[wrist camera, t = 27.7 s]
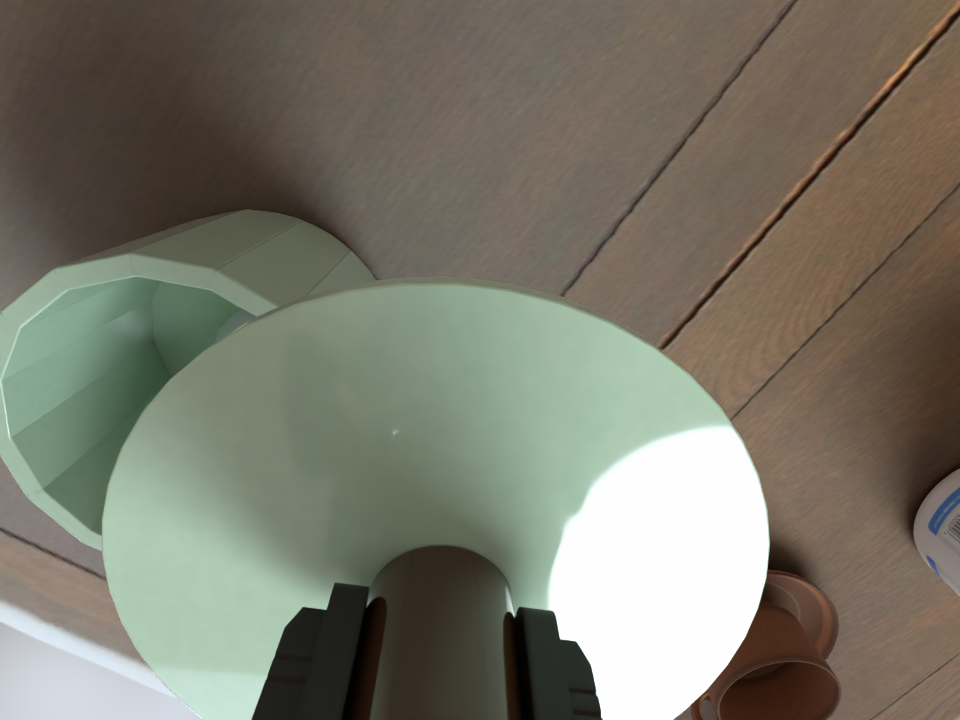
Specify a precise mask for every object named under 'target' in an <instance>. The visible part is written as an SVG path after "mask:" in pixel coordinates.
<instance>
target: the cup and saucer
mask: <svg viewBox="0 0 960 720" xmlns="http://www.w3.org/2000/svg"><path fill="white" fill-rule="evenodd" d="M838 628H839V623H838V616H837V612H836V610H835V607H834V605H833V604H832V602H831V600H830V599H829V598H828V597H827V596H826V595H825V594H824V593H823V592H822V591H821V590H820V589H819V588H818V587H817V586H815V585H814V584H813V583H811V582H809V581H808V580H806V579H804V578H802V577H800V576H797V575H794V574H792V573H788V572H784V571H778V570H768V569H767V578H766V581H765V585H764V589H763V592H762V596H761V600H760V604H759V607H758V610H757V612H756V614H755V617H754V619H753V621H752V623H751V626H750V628H749V630H748V632H747V635H746V637H745V639H744V640H743V642H742V643H741V645H740V647H739V648H738V650H737V651H736V653H735V654H734V656H733V658H732V659H731V661H730V662H729V664H728V665H727V667H726V668H725V669H724V670H723V671H722V673H721V674H720V675H719V676H718V677H717V679H716V680H715V681H714V682H713V683H712V684H711V686H710V687H709V688H708V689H707V690H706V691H705V692H704V693H703V694H702V695H701V696H700V697H699V698H698V699H697V700H696V701H695V702H693V703H692V704H691V714H692V719H693V720H703V719H702V717H701V713H700V707H701V703H702V701H703V699H704V700H709V701H712V703H713V706H714V708H715V711H716V713H717V716H718V719H717V720H827V719H829V717H830V716H831V715H832V714H833V713H834V711H835V710H836V708H837V706H838V704H839V702H840V698H841V686H840V683H839V681H838V679H837V677H836V676H835V674H834V673H833V671H832V670H831V668H830V667H829V665H828V664H827V662H826V661H825V660H826V659H827V657H828V656H829V654H830V653H831V651H832V649H833V647H834V645H835V642H836V639H837V635H838Z"/></svg>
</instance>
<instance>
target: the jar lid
mask: <svg viewBox="0 0 960 720" xmlns="http://www.w3.org/2000/svg"><path fill="white" fill-rule="evenodd" d="M769 548H770V538H769V525H768V512H767V505H766V502H765V498H764V494H763V490H762V486H761V482H760V478H759V474H758V472H757V469H756V467H755V465H754V463H753V461H752V458H751V456H750V454H749V452H748V450H747V447H746V445H745V443H744V441H743V439H742V437H741V436H740V434H739V433H738V431H737V430H736V428H735V427H734V425H733V424H732V422H731V421H730V419H729V418H728V417H727V415H726V414H725V412H724V411H723V409H722V408H721V406H720V405H719V404H718V403H717V401H716V400H715V399H714V398H713V397H712V396H711V395H710V394H709V393H708V391H707V390H706V389H705V388H704V387H703V386H702V385H701V384H700V383H699V382H698V381H697V380H696V379H695V378H694V377H693V376H692V375H691V373H690V372H689V371H688V370H687V369H686V368H685V367H684V366H683V365H682V364H680V363H679V362H678V361H677V360H675V359H674V358H673V357H671V356H670V355H669V354H668V353H666V352H665V351H664V350H662V349H661V348H660V347H659V346H657V345H656V344H655V343H653V342H652V341H651V340H650V339H648V338H647V337H645V336H643V335H642V334H640V333H638V332H636V331H635V330H633V329H631V328H629V327H628V326H626V325H624V324H622V323H620V322H619V321H617V320H615V319H613V318H612V317H610V316H608V315H606V314H604V313H602V312H599V311H597V310H594V309H592V308H589V307H587V306H584V305H582V304H579V303H577V302H574V301H572V300H569V299H567V298H564V297H562V296H559V295H555V294H551V293H547V292H543V291H539V290H535V289H531V288H527V287H523V286H519V285H515V284H512V283H506V282H498V281H489V280H481V279H473V278H464V277H399V278H391V279H384V280H377V281H370V282H362V283H355V284H349V285H345V286H342V287H338V288H334V289H331V290H327V291H323V292H320V293H316V294H313V295H309V296H305V297H302V298H299V299H296V300H294V301H292V302H289V303H287V304H285V305H282V306H280V307H278V308H275V309H273V310H271V311H268V312H266V313H264V314H261V315H259V316H257V317H254V318H253V319H251V320H249V321H248V322H246V323H245V324H243V325H241V326H240V327H238V328H236V329H235V330H233V331H231V332H230V333H228V334H227V335H225V336H223V337H222V338H220V339H218V340H217V341H215V342H214V343H212V344H211V345H210V346H209V347H208V348H206V349H205V350H204V351H203V352H202V353H201V354H199V355H198V356H197V357H196V358H195V359H193V360H192V361H191V362H190V363H189V364H188V365H186V366H185V367H184V368H183V369H182V370H180V371H179V372H178V373H177V374H176V375H175V376H174V377H172V378H171V379H170V380H169V381H168V382H167V384H166V385H165V386H164V387H163V388H162V389H161V391H160V392H159V393H158V394H157V395H156V397H155V398H154V399H153V400H152V401H151V402H150V404H149V405H148V406H147V407H146V408H145V409H144V411H143V412H142V413H141V415H140V416H139V418H138V420H137V422H136V423H135V425H134V427H133V428H132V430H131V432H130V433H129V435H128V437H127V439H126V440H125V442H124V444H123V445H122V447H121V450H120V452H119V455H118V458H117V460H116V463H115V466H114V469H113V471H112V474H111V477H110V479H109V482H108V486H107V492H106V498H105V504H104V510H103V515H102V557H103V562H104V568H105V573H106V578H107V584H108V589H109V591H110V594H111V597H112V600H113V602H114V605H115V608H116V610H117V613H118V616H119V619H120V621H121V623H122V625H123V626H124V628H125V630H126V632H127V634H128V635H129V637H130V639H131V641H132V643H133V645H134V646H135V648H136V650H137V651H138V652H139V654H140V655H141V656H142V658H143V659H144V660H145V662H146V663H147V664H148V666H149V667H150V668H151V670H152V671H153V672H154V674H155V675H156V676H157V677H158V678H159V680H160V681H161V682H162V683H163V684H164V685H165V686H166V687H167V688H168V689H169V690H170V691H171V692H172V693H173V694H174V695H175V696H176V697H177V698H178V699H179V700H180V701H181V702H182V703H184V704H185V705H186V706H187V707H188V708H190V709H191V710H192V711H193V712H195V713H196V714H197V715H198V716H200V717H201V718H202V719H203V720H251V719H252V716H253V714H254V711H255V708H256V705H257V703H258V700H259V697H260V694H261V692H262V689H263V686H264V683H265V680H266V679H267V676H268V672H269V669H270V667H271V664H272V661H273V658H274V657H275V653H276V650H277V647H278V644H279V642H280V639H281V636H282V633H283V631H284V628H285V626H286V625H287V624H288V623H289V622H290V621H291V620H292V619H293V618H294V616H295V615H296V614H297V613H298V612H299V611H300V610H301V609H302V607H308V608H316V609H324V610H327V606H328V603H329V599H330V596H331V592H332V589H333V586H334V584H335V582H336V583H344V584H351V585H359V586H367V587H369V594H368V601H367V608H366V612H365V617H364V622H363V627H362V632H361V636H360V641H359V646H358V651H357V656H356V660H355V665H354V670H353V675H352V680H351V684H350V689H349V694H348V699H347V704H346V708H345V713H344V718H343V720H524V716H523V705H522V694H521V683H520V672H519V661H518V650H517V639H516V628H515V616H516V612H517V610H518V608H519V607H527V608H534V609H542V610H550V611H553V612H554V613H555V615H556V619H557V625H558V630H559V636H560V639H562V640H570V641H577V643H578V645H579V646H580V648H581V649H582V651H583V653H584V654H585V656H586V658H587V659H588V661H589V662H590V664H591V667H592V672H593V676H594V681H595V685H596V690H597V692H596V694H597V696H598V698H599V703H600V707H601V712H602V713H601V717H602V718H603V720H673V719H675V718H676V717H677V716H679V715H680V714H681V713H683V712H684V711H685V710H686V709H687V708H688V707H689V706H690V705H691V704H692V703H693V702H695V701H696V700H697V699H698V698H699V697H700V696H701V695H702V694H703V693H704V692H705V691H706V690H707V689H708V688H709V687H710V686H711V684H712V683H713V682H714V681H715V680H716V679H717V677H718V676H719V675H720V674H721V673H722V671H723V670H724V669H725V668H726V667H727V665H728V664H729V662H730V661H731V659H732V658H733V656H734V654H735V653H736V651H737V650H738V648H739V647H740V645H741V643H742V642H743V640H744V639H745V637H746V635H747V632H748V630H749V628H750V626H751V623H752V621H753V619H754V617H755V614H756V612H757V610H758V607H759V604H760V600H761V596H762V592H763V589H764V585H765V581H766V578H767V569H768V558H769Z"/></svg>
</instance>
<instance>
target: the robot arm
mask: <svg viewBox="0 0 960 720" xmlns="http://www.w3.org/2000/svg"><path fill="white" fill-rule="evenodd" d="M368 594H369V587H367V586H359V585H351V584H344V583H336V582H335V584H334V586H333V589H332V592H331V596H330V599H329V603H328V606H327V610H324V609H316V608H308V607H302V609H301V610H300V611H299V612H298V613H297V614H296V615H295V616H294V618H293V619H292V620H291V621H290V622H289V623H288V624H287V625H286V626H285V628H284V631H283V633H282V636H281V639H280V642H279V644H278V647H277V650H276V653H275V657H274V658H273V661H272V664H271V667H270V669H269V672H268V676H267V679H266V680H265V683H264V686H263V689H262V692H261V694H260V697H259V700H258V703H257V705H256V708H255V711H254V714H253V716H252V719H251V720H343V718H344V713H345V708H346V704H347V699H348V694H349V689H350V684H351V680H352V675H353V670H354V665H355V660H356V656H357V651H358V646H359V641H360V636H361V632H362V627H363V622H364V617H365V612H366V608H367V601H368ZM515 628H516V639H517V650H518V661H519V672H520V683H521V694H522V705H523V716H524V720H603V718H602V717H601V713H602V712H601V707H600V703H599V698H598V696H597V694H596V692H597V690H596V685H595V681H594V676H593V672H592V667H591V664H590V662H589V661H588V659H587V658H586V656H585V654H584V653H583V651H582V649H581V648H580V646H579V645H578V643H577V641H570V640H562V639H560V636H559V630H558V625H557V619H556V615H555V613H554V612H553V611H550V610H542V609H534V608H527V607H519V608H518V610H517V612H516V616H515Z"/></svg>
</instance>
